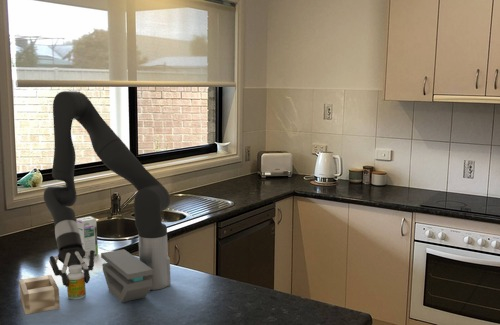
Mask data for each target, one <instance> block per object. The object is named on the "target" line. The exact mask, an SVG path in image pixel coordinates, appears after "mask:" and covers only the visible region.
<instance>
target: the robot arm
mask: <svg viewBox="0 0 500 325" xmlns="http://www.w3.org/2000/svg"><path fill="white" fill-rule="evenodd" d="M52 101H53V102H52V117H53V133H54V134H53V135H54V137H53V138H54V140H53V141H54V148H53V149H54V152H53V162H52V170H51V175H52V176H51V177H52V178H53V179H54V180H57V181H61V182H64V183H65V185H50V186H48V187H46V188H45V190H44V191H43V201H44V204H45V206H46V208H47V209H48V211H49V213H50V215H51V217H52V220H53V224H54V235H55V241H56V246H57V252H58V254H57V255H56V256H53V255H51V256H49V260H48V261H49V264H50V267H51V269H52V271H53V274H54V276H56V277H58V276H60V277H61V281H62V285H63V286H65V288H67V287H68V278H67V274H68V273H67V271H68V268H69V266H72V265H81V266H82V272H83V273H84V274H85V285H86V284H89V282H90V281H91V280H90V279H91V276H90V275H91V274H90V271H93V270H94V266H95V255H94V251H93V250H91V251H90V252H85V251H84V249H83V247H82V242H81V237H80V232H79V228H78V225H77V221H76V219H77V217H76V212H75V210H74V209H73V208H71V207H72V206H74V205H75V204H76V202H77V189H76V184H75V168H76V166H75V165H76V149H75V146H74V143H73V138H72V125H73V122H74V120H76V121H77V122H78V123H79V124H80V125H81V126H82V128H84V129H85V131H86V132H87V133H88V136H89V139H90V143H91V146H92V148H93V152H94V153H95V155H97V157H98V158H99V160H100V161H101V162H102V163H103V165H104V166H105V167H107V168H108V169H109V170H110V171H111V172H112V173H115V174H116V175H117V176H119V177H121V178H122V179H124V180H126V181H127V182H128V183H130V184H131V185H132V186H133V187H134V188H135V189H136V190H137V192H136V193H135V195H134V199H133V200H134V201H133V210H134V212H133V213H134V221H135V222H134V224H135V227H136V229H137V234H138V236H137V237H138V255H139V256H138V257H139V258H138V259H139V260H140V261H142V262H143V263H144V264H146V265H147V266H149V267H150V268H152V269H153V275H148V277H150V278H151V279H152V287H151V289H150V290H149V291H156V290H161V289H165V288H167V287H169V286H171V281H172V280H171V258H170V257H169V255H168V252H169V250H168V227H167V225H166V224H165V223H162V216H161V212H164V211H165V210H166V209H168V208H169V206H170V204H171V196H170V193H169V191H168V190H167V188H166V187H165V186H164V185H163V184H162V183H161V182H160V181H159V180H158V179H156V178H155V176H153V175H152V174H151V173H150V171H148V170H147V169H146V167H145V166H144V165H143V164H142V162H140V161H139V159H138V158H137V157H136V156H135V155H134V154H133V152H132V151H131V150H130V149H129V147H128V146H127V145H126V144H125V143H124V141H123V140H122V139H121V138H120V136H119V135H117V134H116V133H115V131H114V130H113V129H112V128H111V127H110V125H109V124H108V123H107V122H106V121H105V120H104V119H103V117H102V116H101V114H100V113H99V112H98V111H97V109H96V107H95V106H94V105H93V103H92V102H91V100H90V98H88V96H87V95H86V94H84V93H83V92H80V91H77V90H76V91H74V90H73V91H70V90H63V91H60V92H58V93H57V94H56V95H55V96H54V98H53V100H52ZM84 256H86V259H87V260H88V265H87V264H86V261H85V260H84V258H85V257H84ZM58 261H59V262H61V263H62V264H63V265H62V268H61V269H60V268H59V266H58V264H57V263H58Z"/></svg>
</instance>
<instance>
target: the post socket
mask: <svg viewBox="0 0 500 325" xmlns="http://www.w3.org/2000/svg"><path fill="white" fill-rule="evenodd" d="M18 280H19V281H18V283H19V297H20V301H21V302H20V303H21V305H22V309H23V312H24V315H29V314H35V313H40V312H46V311H52V310H57V309H60V308H61V304H60V289H59V287H58V285H57V284H58V283H56V280H55V278H54V277H53V275H52V274H48V275H47V274H46V275H43V276H37V277H36V276H35V277H29V278H28V277H27V278H23V279H18Z"/></svg>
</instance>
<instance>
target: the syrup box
mask: <svg viewBox="0 0 500 325" xmlns="http://www.w3.org/2000/svg"><path fill="white" fill-rule="evenodd" d="M76 222H77V225H78V228H79V232H80V237H81V242H82V247H83V249H84V251H85V252H90V251H91V250H93V251H94V256H95V255H98V254H99V248H98V247H99V246H98V245H99V244H98V228H97V227H98V226H97V218H96V217H94V216H91V215H89V216H85V217H79V218H76ZM84 258H87V256H84Z"/></svg>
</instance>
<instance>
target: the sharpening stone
mask: <svg viewBox="0 0 500 325" xmlns="http://www.w3.org/2000/svg"><path fill="white" fill-rule="evenodd" d="M100 257H101V259H102V260H103V261H105V262H106V263H105V262H104V263H102V271H103V276H104V278H105V281H106V285H107V288H108V291H109V292H110V293H111V295H113V296H114V297H115V298H116V299H117V300H118V301H119V302H120V303H125V302H129V301H134V300H138V299H144V298H146V297H147V296H148V294H149V292H150V291H151V290H150V289H151V287H152V279H151V278H150V277H148V275H153V269H152V268H150V267H149V266H147V265H146V264H144V263H143V262H142V261H140V260H139V258H138V257H136V256H134V255H133V254H131V253H130V252H129V251H127V250H126V249H124V248H123V249H116V250H111V251H107V252H106V251H104V252H100Z"/></svg>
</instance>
